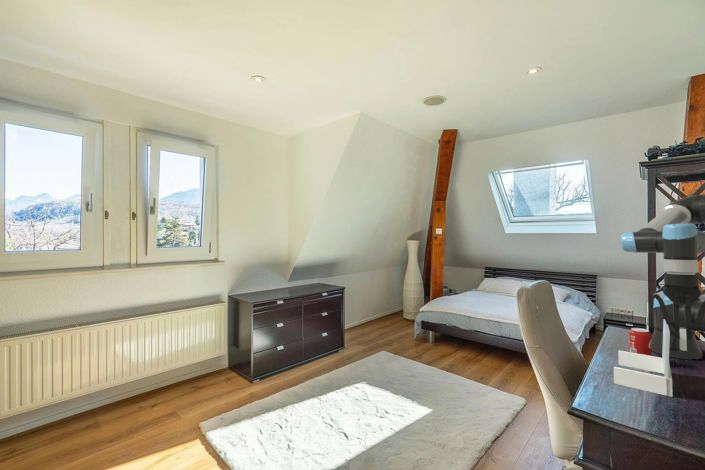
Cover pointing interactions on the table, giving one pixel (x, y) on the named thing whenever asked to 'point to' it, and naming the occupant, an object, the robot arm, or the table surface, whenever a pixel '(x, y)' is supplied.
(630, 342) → the beverage can
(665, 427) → the table surface
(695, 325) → the robot arm
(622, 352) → the white flat pieces
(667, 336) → the lid
